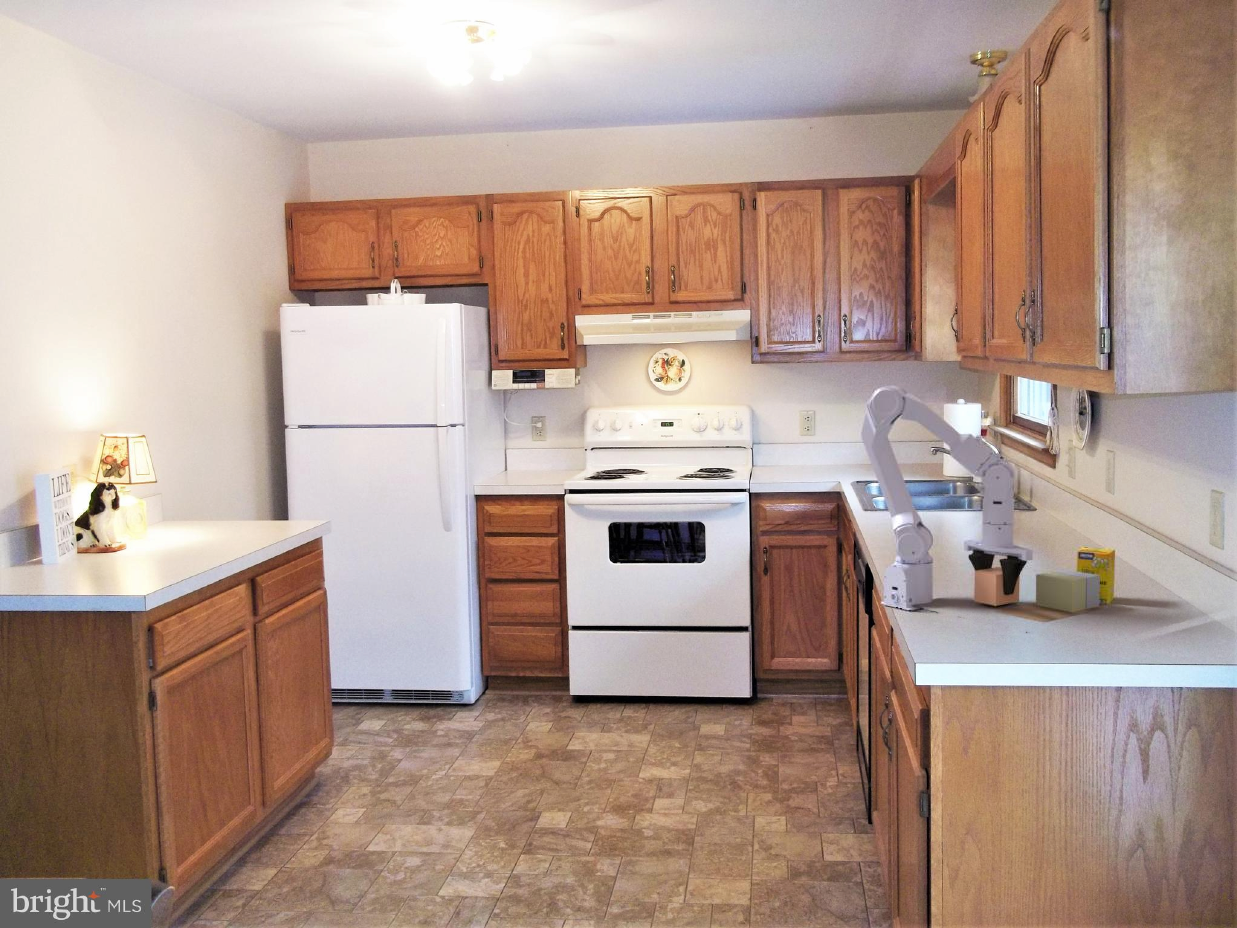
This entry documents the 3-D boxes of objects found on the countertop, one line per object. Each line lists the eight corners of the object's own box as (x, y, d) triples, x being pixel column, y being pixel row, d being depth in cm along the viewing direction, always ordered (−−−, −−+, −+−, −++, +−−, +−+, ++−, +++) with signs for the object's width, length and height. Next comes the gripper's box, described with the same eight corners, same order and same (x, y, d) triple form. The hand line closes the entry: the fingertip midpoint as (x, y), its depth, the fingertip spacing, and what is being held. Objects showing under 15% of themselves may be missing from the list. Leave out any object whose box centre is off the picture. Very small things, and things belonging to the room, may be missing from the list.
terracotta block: (995, 605, 210) (996, 574, 210) (974, 601, 214) (974, 570, 214) (1019, 601, 214) (1019, 570, 214) (997, 596, 218) (998, 566, 218)
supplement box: (1075, 606, 216) (1076, 550, 215) (1082, 600, 221) (1083, 546, 220) (1108, 609, 212) (1109, 553, 211) (1114, 603, 217) (1115, 548, 216)
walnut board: (1044, 627, 199) (1044, 622, 199) (993, 616, 208) (993, 611, 208) (1108, 612, 210) (1108, 606, 210) (1057, 602, 219) (1058, 597, 219)
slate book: (1086, 609, 208) (1087, 577, 208) (1049, 601, 215) (1050, 571, 215) (1099, 606, 211) (1099, 575, 210) (1062, 599, 217) (1062, 569, 217)
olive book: (1072, 612, 206) (1073, 580, 206) (1035, 605, 213) (1036, 574, 212) (1085, 609, 208) (1086, 578, 208) (1048, 602, 215) (1049, 571, 214)
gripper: (1043, 525, 209) (1041, 595, 210) (980, 516, 221) (979, 583, 222) (1019, 528, 205) (1018, 600, 206) (957, 519, 217) (956, 587, 219)
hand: (996, 591), depth 214 cm, fingers closed on terracotta block, 5 cm apart
